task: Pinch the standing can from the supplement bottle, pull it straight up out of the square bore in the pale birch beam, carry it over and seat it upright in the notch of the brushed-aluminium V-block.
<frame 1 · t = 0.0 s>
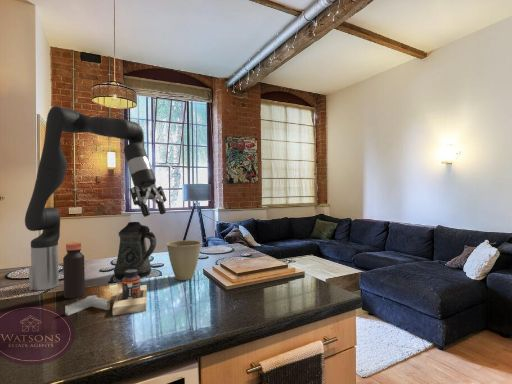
hand: (155, 214, 101), 31 cm above the table, tool tilted 20°, fingers open, 8 cm apart
beer stein: (136, 275, 138), on the table
vinegar: (74, 296, 111), on the table
supplement bottle: (131, 302, 104), on the table
plant pot: (184, 278, 132), on the table
aluminium v block: (89, 309, 98), on the table
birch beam: (131, 301, 104), on the table
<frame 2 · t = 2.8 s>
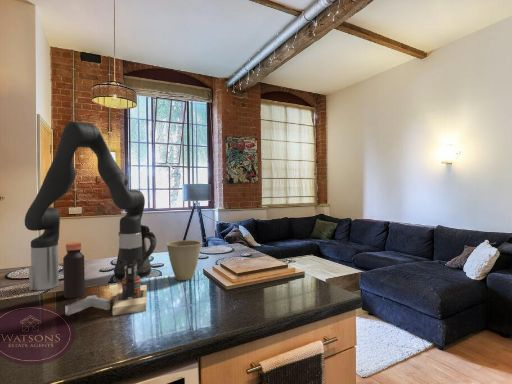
hand: (131, 291, 104), 4 cm above the table, tool pointing down, fingers closed on supplement bottle, 6 cm apart
supplement bottle: (131, 302, 104), on the table, touching gripper
everything else where it was.
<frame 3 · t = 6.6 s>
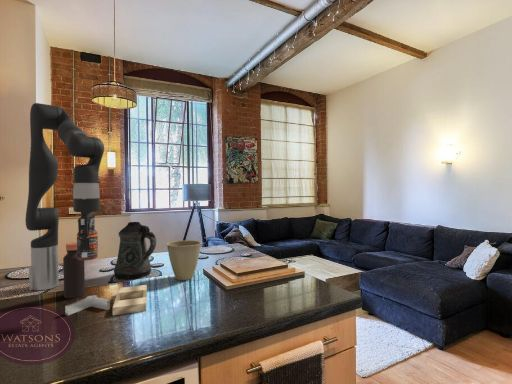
hand: (87, 247, 95), 21 cm above the table, tool pointing down, fingers closed on supplement bottle, 6 cm apart
supplement bottle: (87, 259, 95), point 17 cm above the table, touching gripper
everything else where it was.
when the fingers open (5 cm above the table, at t = 10.3 s): supplement bottle drops 1 cm, on the table.
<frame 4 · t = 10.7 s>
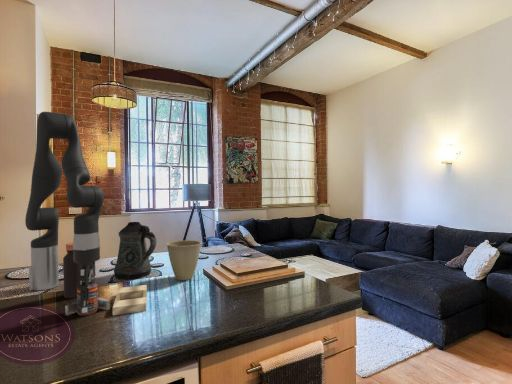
hand: (87, 295, 95), 6 cm above the table, tool pointing down, fingers open, 8 cm apart
supplement bottle: (87, 313, 95), on the table
everything else where it was.
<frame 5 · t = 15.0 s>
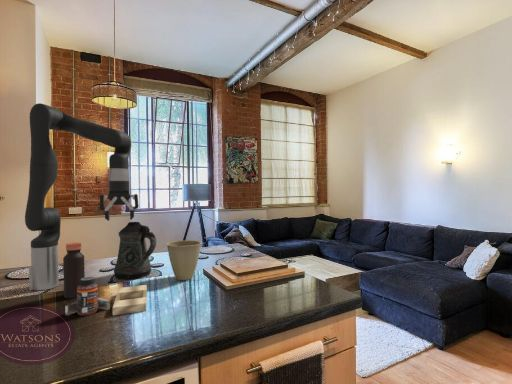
hand: (119, 219, 118), 28 cm above the table, tool pointing down, fingers open, 8 cm apart
nothing on the table moved.
at the end: supplement bottle 0.2 cm from the target spot on the aluminium v block, point 0.0 cm above the aluminium v block's base; supplement bottle tilted 0°; the gripper is holding nothing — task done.
